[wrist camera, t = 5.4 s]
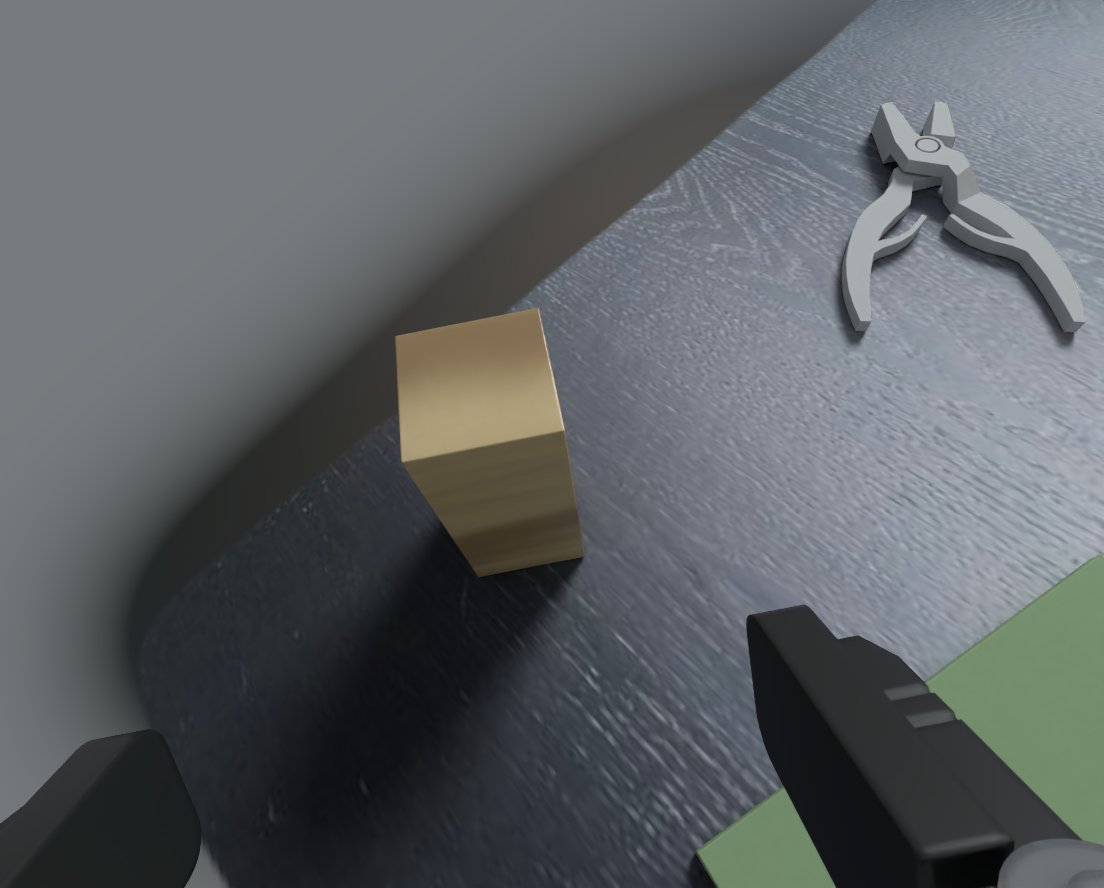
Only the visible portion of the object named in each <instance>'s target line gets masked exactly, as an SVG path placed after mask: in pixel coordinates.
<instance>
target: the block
mask: <svg viewBox="0 0 1104 888" xmlns="http://www.w3.org/2000/svg"><path fill="white" fill-rule="evenodd" d="M395 346H396V347H395V348H396V367H397V386H398V408H399V428H400V448H401V463H402V465H403V466H404V467H405V469H406V470H407V472H408V473H409V475H410V476H411V478H412V479H413V481H414V482H415V484H416V485H417V487H418V488H419V490H420V491H421V493H422V494H423V496H424V497H425V499H426V500H427V502H428V503H429V505H430V506H431V507H432V509H433V510H434V512H435V513H436V515H437V516H438V518H439V519H440V521H441V522H442V524H443V525H444V527H445V528H446V530H447V531H448V533H449V534H450V536H451V537H452V539H453V540H454V542H455V543H456V545H457V546H458V547H459V549H460V550H461V552H462V553H463V555H464V556H465V558H466V559H467V561H468V562H469V564H470V565H471V567H472V568H473V570H474V571H475V573H476V574H477V576H478V577H483V576H488V575H493V574H498V573H503V572H508V571H513V570H518V569H523V568H528V567H533V566H539V565H544V564H549V563H554V562H559V561H564V560H569V559H574V558H579V557H584V556H585V552H584V546H583V540H582V534H581V527H580V521H579V515H578V509H577V502H576V496H575V490H574V484H573V477H572V471H571V465H570V459H569V452H568V446H567V440H566V434H565V428H564V423H563V419H562V414H561V409H560V404H559V400H558V395H557V390H556V385H555V381H554V376H553V371H552V366H551V362H550V357H549V352H548V347H547V343H546V338H545V333H544V328H543V324H542V319H541V314H540V310H539V308H535V309H530V310H525V311H520V312H515V313H510V314H505V315H500V316H495V317H490V318H485V319H480V320H475V321H470V322H465V323H460V324H455V325H450V326H445V327H440V328H435V329H430V330H424V331H420V332H414V333H409V334H405V335H399V336H396V337H395Z"/></svg>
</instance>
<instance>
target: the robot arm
mask: <svg viewBox="0 0 1104 888" xmlns="http://www.w3.org/2000/svg"><path fill="white" fill-rule="evenodd" d="M746 628H747V638H748V646H749V655H750V663H751V672H752V680H753V688H754V697H755V705H756V713H757V719H758V723H759V728H760V731H761V735H762V738H763V742H764V744H765V747H766V750H767V753H768V755H769V758H770V760H771V762H772V764H773V766H774V768H775V770H776V772H777V774H778V776H779V778H780V780H781V782H782V784H783V786H784V788H785V790H786V792H787V794H788V796H789V798H790V800H791V801H792V803H793V805H794V807H795V809H796V811H797V813H798V815H799V817H800V819H801V821H802V823H803V825H804V827H805V829H806V831H807V833H808V834H809V836H810V838H811V840H812V842H813V844H814V846H815V848H816V850H817V852H818V854H819V856H820V858H821V860H822V862H823V864H824V866H825V867H826V869H827V871H828V873H829V875H830V877H831V879H832V881H833V883H834V885H835V887H836V888H1104V845H1101V844H1097V843H1093V842H1089V841H1083V840H1082V839H1081V838H1080V837H1079V836H1078V835H1077V834H1076V833H1075V832H1074V831H1073V830H1072V829H1071V828H1070V827H1069V826H1068V825H1067V824H1066V823H1065V822H1064V821H1063V820H1062V819H1061V818H1060V817H1059V816H1058V815H1057V814H1056V813H1055V812H1054V811H1053V810H1052V809H1051V808H1050V807H1049V806H1048V805H1047V804H1046V803H1045V802H1044V801H1043V800H1042V799H1041V798H1040V797H1039V796H1038V795H1037V794H1036V793H1035V792H1034V791H1033V790H1032V789H1031V788H1030V787H1029V786H1028V785H1027V784H1026V783H1025V782H1024V781H1023V780H1022V779H1021V778H1020V777H1019V776H1018V775H1017V774H1016V773H1015V772H1014V771H1013V770H1012V769H1011V768H1010V767H1009V766H1008V765H1007V764H1006V763H1005V762H1004V761H1003V760H1002V759H1001V758H1000V757H999V756H998V755H997V754H996V753H995V752H994V751H993V750H992V749H991V748H990V747H989V746H988V745H987V744H986V743H985V742H984V741H983V740H982V739H981V738H980V737H979V736H978V735H977V734H976V733H975V732H974V731H973V730H972V729H971V728H970V727H969V726H968V725H967V724H966V723H965V722H964V721H963V720H962V719H960V720H958V719H957V718H956V716H955V713H954V711H953V710H952V709H951V708H950V707H949V706H948V705H947V704H946V703H945V702H944V701H943V700H942V699H941V698H940V697H939V696H938V695H937V694H936V693H935V692H934V693H931V692H930V690H929V687H928V685H927V684H926V683H925V682H924V681H923V680H922V679H921V678H920V677H919V676H918V675H917V674H916V673H915V672H914V671H913V670H912V669H911V668H910V667H909V666H908V665H907V664H906V663H905V662H904V661H903V660H902V659H901V658H900V657H899V656H897V655H895V654H893V653H891V652H889V651H887V650H885V649H883V648H881V647H879V646H878V645H876V644H874V643H872V642H870V641H868V640H866V639H864V638H862V637H860V636H853V637H848V638H843V639H837V638H836V637H835V636H834V635H833V634H832V633H831V631H830V630H829V629H828V628H827V627H826V626H825V625H824V623H823V622H822V621H821V620H820V619H819V618H818V617H817V615H816V614H815V613H814V612H813V611H812V610H811V609H810V608H809V607H808V606H806V605H799V606H794V607H789V608H784V609H778V610H773V611H768V612H763V613H758V614H752V615H749V616H748V617H747V623H746ZM200 845H201V826H200V821H199V818H198V815H197V812H196V810H195V808H194V805H193V803H192V801H191V798H190V796H189V794H188V791H187V789H186V787H185V784H184V782H183V779H182V777H181V775H180V772H179V770H178V768H177V765H176V763H175V761H174V758H173V756H172V754H171V751H170V749H169V747H168V744H167V742H166V740H165V738H164V737H163V736H162V735H161V734H160V733H159V732H157V731H155V730H151V729H148V730H142V731H137V732H132V733H127V734H121V735H116V736H111V737H106V738H101V739H95V740H91V741H89V742H87V743H85V744H84V745H82V746H81V747H80V748H79V749H77V750H76V751H75V752H74V753H73V754H72V756H71V757H70V758H69V759H68V760H67V761H66V762H65V763H64V764H63V765H62V766H61V767H60V768H59V769H58V770H57V771H56V772H55V773H54V774H53V775H52V776H51V778H50V779H49V780H48V781H47V782H46V783H45V784H44V785H43V786H42V787H41V788H40V789H39V790H38V791H37V792H36V793H35V794H34V795H33V797H32V798H31V799H30V800H29V801H28V802H27V803H26V804H25V805H24V806H23V807H21V808H20V809H19V810H17V811H16V812H15V813H13V814H12V815H11V816H10V817H9V818H7V819H6V820H4V821H3V822H2V823H0V888H184V887H185V886H186V884H187V882H188V880H189V879H190V877H191V875H192V872H193V871H194V868H195V866H196V863H197V860H198V856H199V851H200Z"/></svg>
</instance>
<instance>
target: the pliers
mask: <svg viewBox="0 0 1104 888" xmlns="http://www.w3.org/2000/svg"><path fill="white" fill-rule="evenodd" d="M871 132H872V134H873V137H874V140H875V143H876V146H877V148H878V151H879V154H880V157H881V160H882V162H883V164H884V163H889V162H894V161H896V162H897V163H898V165H899V166H898V167H897V168H895V169H894V170H893V172H892V175H891V177H890V179H889V184H888V188H887V190H886V191H885V193H884V194H883V195H882V196H881V197H880V198H878V199H877V200H876V201H875V202H873V203H872V204H871V205H870V206H868V207H867V208H866V210H865V211H864V212H863V214H862V215H861V216H860V218H859V219H858V221H857V223H856V225H855V228H854V230H853V232H852V234H851V237H850V239H849V242H848V244H847V248H846V251H845V255H844V259H843V266H842V289H843V296H844V301H845V304H846V308H847V311H848V314H849V317H850V319H851V321H852V324H853V326H854V329H855V331H867V329H868V327H869V325H870V323H871V310H870V274H871V267H872V262H873V261H875V260H876V259H878V258H881V257H884V256H887V255H890V254H893V253H895V252H897V251H898V250H900V249H902V248H903V247H905V246H907V245H908V244H909V243H910V242H911V240H912V239H913V238H914V237H915V236H916V234H917V233H918V231H919V230H920V228H921V226H922V224H923V223H924V221H925V219H926V217H927V216H926V215H921V216H920V218H919V219H918V221H917V222H916V223H915V224H914V225H913V226H912V227H911V228H910V229H909V230H908V231H907V232H905V233H903V234H901V235H899V236H897V237H895V238H891V239H885V240H879V239H880V238H881V237H882V236H883V235H884V234H885V233H886V232H887V231H888V230H889V229H890V228H891V227H892V226H893V225H895V224H896V223H897V222H898V221H899V220H900V219H901V218H902V217H903V216H904V215H905V214H906V212H907V210H908V208H909V206H910V204H911V196H912V191H916V190H921V189H925V188H929V187H934V186H938V185H943V203H944V205H945V206H946V207H947V209H948V210H949V211H950V213H951V214H952V215H949V217H948V218H947V220H946V222H945V224H944V225H943V227H944V228H945V229H946V230H947V231H949V232H950V233H951V234H953V235H954V236H955V237H957V238H958V239H960V240H962V241H963V242H965V243H966V244H968V245H970V246H973V247H975V248H977V249H980V250H982V251H985V252H988V253H992V254H995V255H999V256H1003V257H1007V258H1009V259H1011V260H1014V261H1016V262H1018V263H1019V264H1020V265H1021V266H1022V267H1023V269H1024V270H1025V271H1026V272H1027V274H1028V275H1029V276H1030V277H1031V279H1032V280H1033V281H1034V283H1035V284H1036V285H1037V286H1038V288H1039V290H1040V291H1041V293H1042V294H1043V296H1044V298H1045V299H1046V301H1047V302H1048V304H1049V306H1050V307H1051V309H1052V311H1053V312H1054V314H1055V316H1056V318H1057V320H1058V322H1059V323H1060V325H1061V327H1062V329H1063V331H1064V332H1076V331H1077V330H1078V329H1079V328H1080V327H1081V326H1082V325H1083V324H1084V323H1085V322H1086V319H1085V314H1084V309H1083V304H1082V301H1081V297H1080V294H1079V290H1078V288H1077V286H1076V284H1075V281H1074V279H1073V277H1072V275H1071V273H1070V271H1069V270H1068V268H1067V266H1066V265H1065V263H1064V262H1063V260H1062V258H1061V257H1060V256H1059V254H1058V253H1057V252H1056V251H1055V249H1054V248H1053V247H1052V246H1051V244H1050V243H1049V242H1048V241H1047V240H1046V239H1045V238H1044V237H1043V236H1042V235H1041V234H1040V232H1039V231H1038V230H1037V229H1036V228H1034V227H1033V226H1032V225H1031V224H1030V223H1029V222H1028V221H1027V220H1025V219H1024V218H1023V217H1022V216H1020V215H1019V214H1018V213H1016V212H1015V211H1013V210H1012V209H1011V208H1009V207H1008V206H1006V205H1005V204H1003V203H1001V202H999V201H997V200H995V199H992V198H990V197H988V196H986V195H984V194H982V193H980V190H979V187H978V184H977V181H976V178H975V175H974V172H973V169H972V167H971V164H970V163H969V162H968V161H967V159H966V158H965V157H964V155H963V154H962V153H961V152H958V151H956V150H953V149H952V147H953V144H954V141H955V138H956V136H955V132H954V128H953V124H952V121H951V117H950V113H949V109H948V105H947V103H941V102H935V103H934V105H933V107H932V110H931V112H930V114H929V116H928V118H927V121H926V123H925V125H924V128H923V135H922V136H920V135H918V134H917V133H916V132H915V131H914V130H913V129H912V127H911V126H910V125H909V123H908V122H907V121H906V120H905V118H904V117H903V116H902V115H901V113H900V112H899V111H898V109H897V108H896V107H895V106H894V104H893V103H892V102H890V103H885V104H881V106H880V109H879V111H878V114H877V117H876V119H875V122H874V125H873V127H872V130H871ZM964 221H965V222H967V223H968V224H967V223H965V222H964ZM969 224H970V225H972V226H974V227H976V228H977V229H979V230H981V231H979V230H977V229H976V228H974V227H972V226H970V225H969ZM878 240H879V241H878Z"/></svg>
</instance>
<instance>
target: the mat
mask: <svg viewBox="0 0 1104 888" xmlns="http://www.w3.org/2000/svg"><path fill="white" fill-rule="evenodd" d="M925 683H926V684H927V685H928V687H929V690H930V692H931V693H934V692H935V693H936V694H937V695H938V696H939V697H940V698H941V699H942V700H943V701H944V702H945V703H946V704H947V705H948V706H949V707H950V708H951V709H952V710H953V711H954V713H955V716H956V718H957V719H958V720H960V719H962V720H963V721H964V722H965V723H966V724H967V725H968V726H969V727H970V728H971V729H972V730H973V731H974V732H975V733H976V734H977V735H978V736H979V737H980V738H981V739H982V740H983V741H984V742H985V743H986V744H987V745H988V746H989V747H990V748H991V749H992V750H993V751H994V752H995V753H996V754H997V755H998V756H999V757H1000V758H1001V759H1002V760H1003V761H1004V762H1005V763H1006V764H1007V765H1008V766H1009V767H1010V768H1011V769H1012V770H1013V771H1014V772H1015V773H1016V774H1017V775H1018V776H1019V777H1020V778H1021V779H1022V780H1023V781H1024V782H1025V783H1026V784H1027V785H1028V786H1029V787H1030V788H1031V789H1032V790H1033V791H1034V792H1035V793H1036V794H1037V795H1038V796H1039V797H1040V798H1041V799H1042V800H1043V801H1044V802H1045V803H1046V804H1047V805H1048V806H1049V807H1050V808H1051V809H1052V810H1053V811H1054V812H1055V813H1056V814H1057V815H1058V816H1059V817H1060V818H1061V819H1062V820H1063V821H1064V822H1065V823H1066V824H1067V825H1068V826H1069V827H1070V828H1071V829H1072V830H1073V831H1074V832H1075V833H1076V834H1077V835H1078V836H1079V837H1080V838H1081V839H1082V840H1083V841H1089V842H1093V843H1097V844H1101V845H1104V557H1103V556H1102V555H1098V556H1096V557H1094V558H1092V559H1090V560H1088V561H1087V562H1086V563H1084V564H1083V565H1082V566H1080V567H1079V568H1078V569H1076V570H1075V571H1074V572H1072V573H1071V574H1070V575H1068V576H1067V577H1065V578H1064V579H1063V580H1061V581H1060V582H1059V583H1057V584H1056V585H1055V586H1053V587H1052V588H1051V589H1049V590H1048V591H1047V592H1045V593H1044V594H1042V595H1041V596H1040V597H1038V598H1037V599H1036V600H1034V601H1033V602H1032V603H1030V604H1029V605H1028V606H1026V607H1025V608H1023V609H1022V610H1021V611H1019V612H1018V613H1017V614H1015V615H1014V616H1013V617H1011V618H1010V619H1009V620H1007V621H1006V622H1005V623H1003V624H1002V625H1000V626H999V627H998V628H996V629H995V630H994V631H992V632H991V633H990V634H988V635H987V636H986V637H984V638H983V639H982V640H980V641H979V642H977V643H976V644H975V645H973V646H972V647H971V648H969V649H968V650H967V651H965V652H964V653H963V654H961V655H960V656H958V657H957V658H956V659H954V660H953V661H952V662H950V663H949V664H948V665H946V666H945V667H944V668H942V669H941V670H940V671H938V672H937V673H935V674H934V675H933V676H931V677H930V678H929V679H927V680H926V681H925ZM696 855H697V856H698V858H699V860H700V861H701V863H702V865H703V866H704V868H705V870H706V871H707V873H708V875H709V876H710V878H711V880H712V881H713V883H714V885H715V887H716V888H836V887H835V885H834V883H833V881H832V879H831V877H830V875H829V873H828V871H827V869H826V867H825V866H824V864H823V862H822V860H821V858H820V856H819V854H818V852H817V850H816V848H815V846H814V844H813V842H812V840H811V838H810V836H809V834H808V833H807V831H806V829H805V827H804V825H803V823H802V821H801V819H800V817H799V815H798V813H797V811H796V809H795V807H794V805H793V803H792V801H791V800H790V798H789V796H788V794H787V792H786V790H785V788H784V786H782V787H781V788H780V789H778V790H777V791H776V792H774V793H773V794H772V795H770V796H769V797H768V798H766V799H765V800H764V801H762V802H761V803H759V804H758V805H757V806H755V807H754V808H753V809H751V810H750V811H749V812H747V813H746V814H745V815H743V816H742V817H741V818H739V819H738V820H736V821H735V822H734V823H732V824H731V825H730V826H728V827H727V828H726V829H724V830H723V831H722V832H720V833H719V834H717V835H716V836H715V837H713V838H712V839H711V840H709V841H708V842H707V843H705V844H704V845H703V846H701V847H700V848H699V849H697V850H696Z"/></svg>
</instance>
